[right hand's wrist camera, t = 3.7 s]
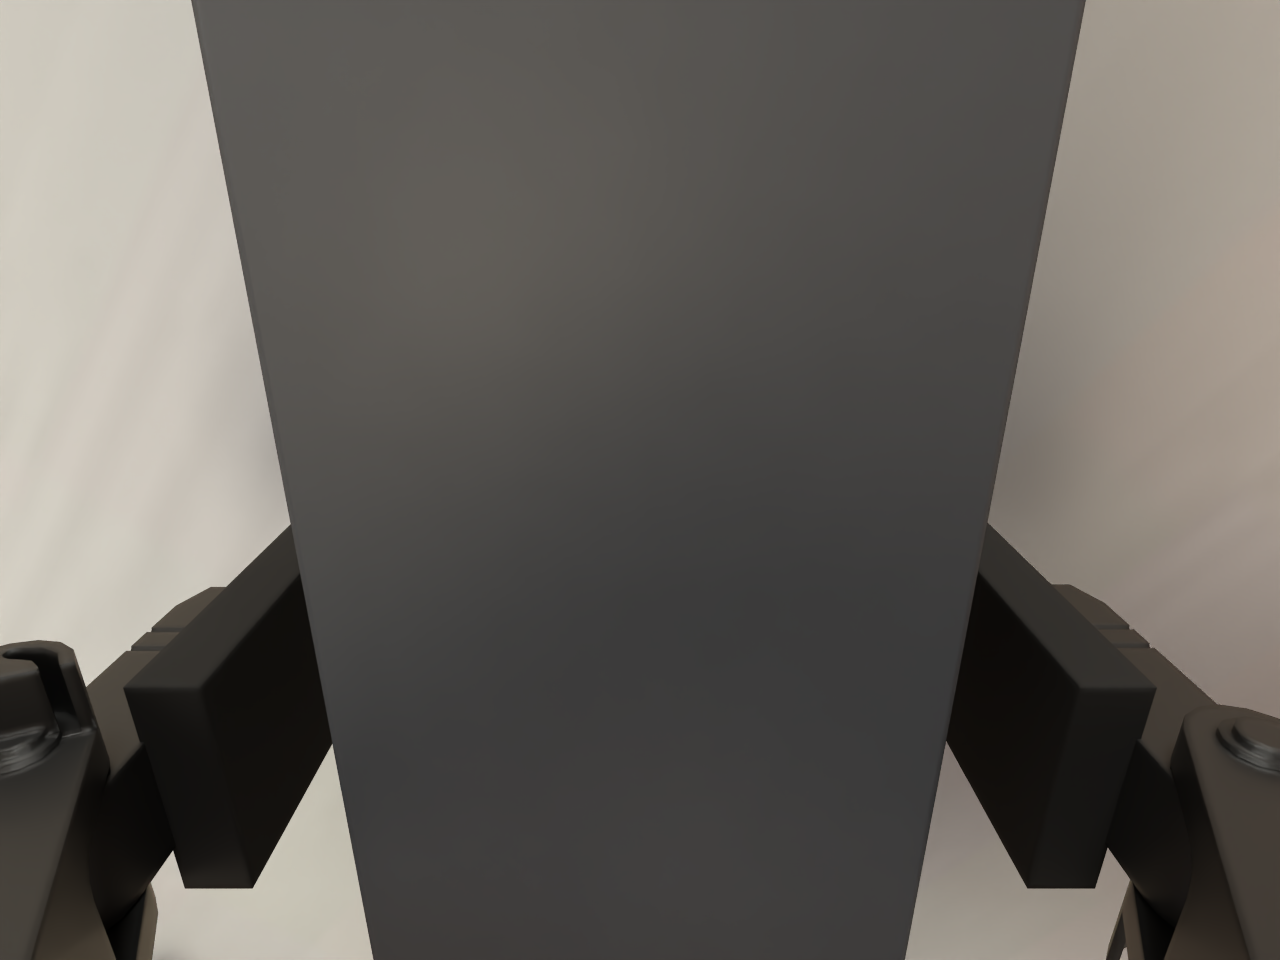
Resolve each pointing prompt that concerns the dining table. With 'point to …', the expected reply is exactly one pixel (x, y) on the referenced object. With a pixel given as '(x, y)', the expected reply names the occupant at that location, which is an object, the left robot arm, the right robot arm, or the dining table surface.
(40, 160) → the dining table surface
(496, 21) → the bar
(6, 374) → the dining table surface
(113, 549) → the dining table surface
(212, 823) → the right robot arm
